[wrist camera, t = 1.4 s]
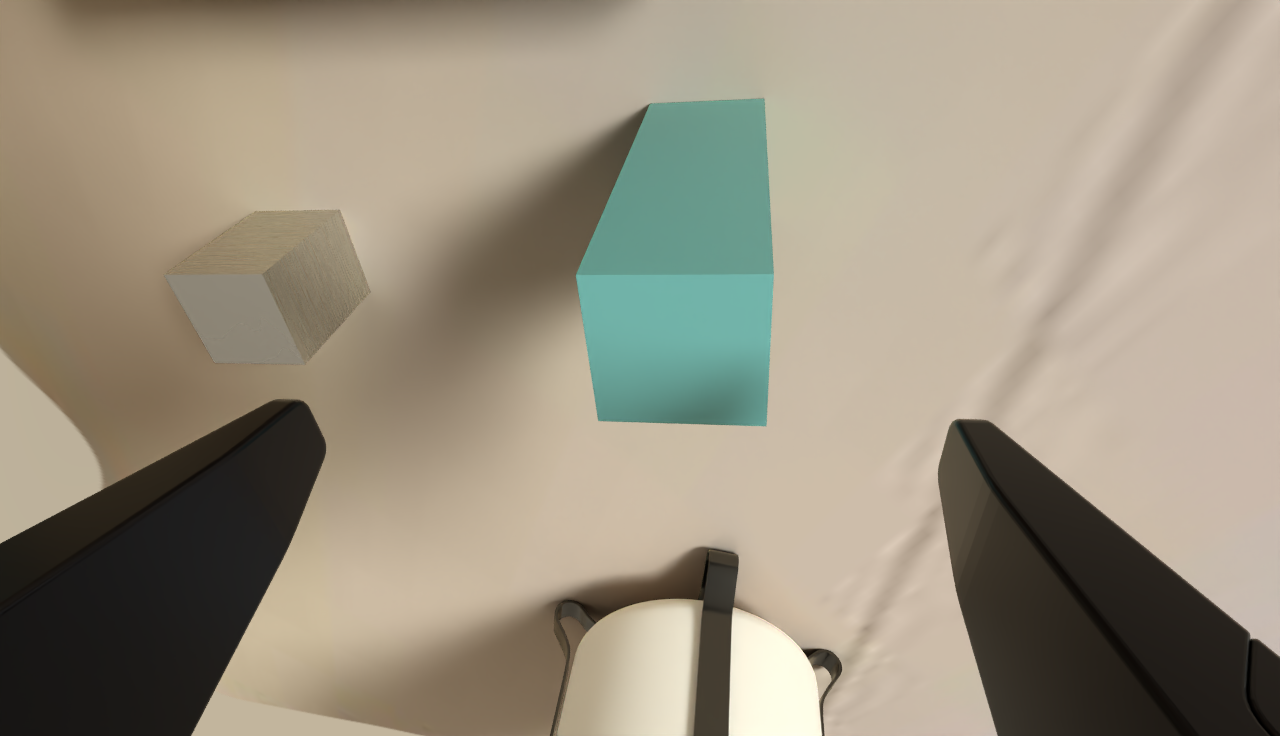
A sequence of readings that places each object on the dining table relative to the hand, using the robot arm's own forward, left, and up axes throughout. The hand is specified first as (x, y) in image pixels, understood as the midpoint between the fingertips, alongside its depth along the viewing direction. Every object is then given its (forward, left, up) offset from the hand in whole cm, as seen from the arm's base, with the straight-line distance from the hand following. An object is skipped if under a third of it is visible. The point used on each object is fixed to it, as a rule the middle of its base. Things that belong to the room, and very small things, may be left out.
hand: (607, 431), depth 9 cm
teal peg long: (-1, +1, -13) cm, 13 cm away
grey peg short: (+13, +4, -13) cm, 19 cm away
